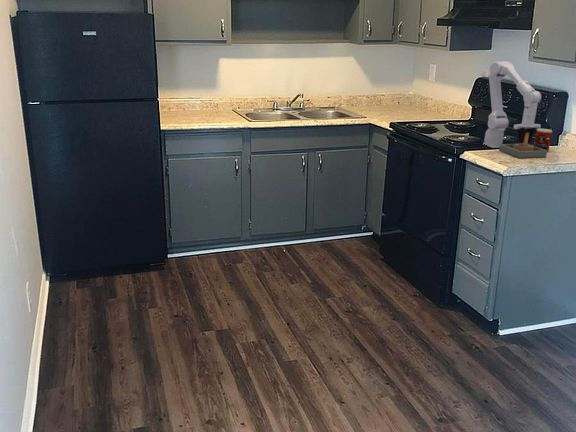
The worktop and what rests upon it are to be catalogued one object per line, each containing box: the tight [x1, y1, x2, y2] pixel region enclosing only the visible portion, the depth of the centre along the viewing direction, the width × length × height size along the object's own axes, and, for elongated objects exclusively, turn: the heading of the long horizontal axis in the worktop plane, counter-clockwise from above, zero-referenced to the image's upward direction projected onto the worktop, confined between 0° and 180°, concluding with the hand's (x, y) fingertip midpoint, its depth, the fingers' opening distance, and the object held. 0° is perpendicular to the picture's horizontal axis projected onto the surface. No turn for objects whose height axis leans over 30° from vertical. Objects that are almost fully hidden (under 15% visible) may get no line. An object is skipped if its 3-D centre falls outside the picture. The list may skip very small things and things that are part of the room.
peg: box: [520, 132, 529, 146], centre depth 297 cm, size 3×3×9 cm
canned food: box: [533, 128, 553, 153], centre depth 307 cm, size 8×8×11 cm
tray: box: [499, 143, 548, 160], centre depth 298 cm, size 16×16×5 cm
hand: (524, 142), depth 297 cm, fingers open, 3 cm apart
